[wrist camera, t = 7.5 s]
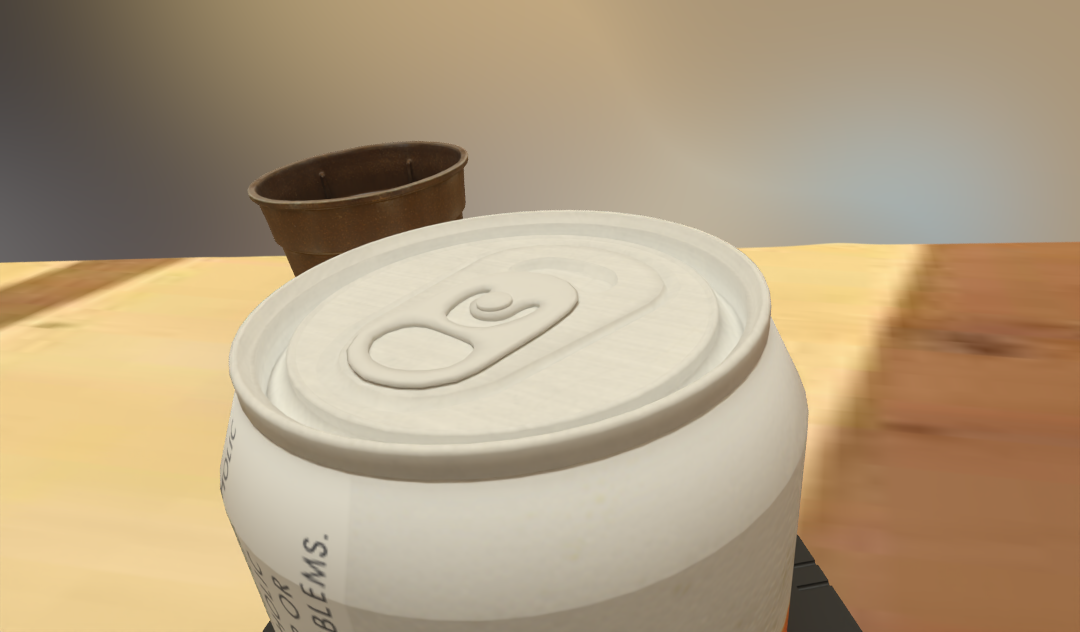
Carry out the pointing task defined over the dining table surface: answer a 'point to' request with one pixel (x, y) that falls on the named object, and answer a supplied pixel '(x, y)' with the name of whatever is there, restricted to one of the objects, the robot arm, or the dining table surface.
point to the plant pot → (359, 197)
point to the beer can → (519, 434)
